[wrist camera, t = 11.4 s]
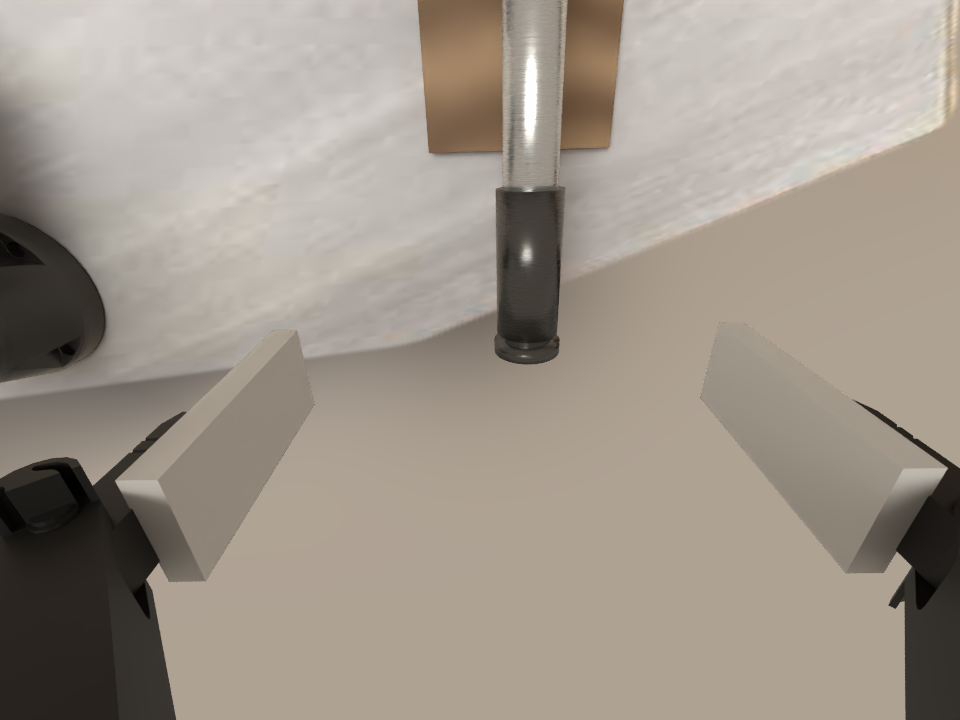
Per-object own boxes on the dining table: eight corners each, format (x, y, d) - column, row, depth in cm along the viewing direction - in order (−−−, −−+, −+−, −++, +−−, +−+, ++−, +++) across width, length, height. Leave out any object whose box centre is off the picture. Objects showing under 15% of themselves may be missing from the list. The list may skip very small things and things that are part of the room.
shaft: (554, 335, 32) (563, 363, 28) (494, 336, 32) (495, 364, 28) (585, -243, 19) (611, -340, 15) (485, -238, 19) (485, -332, 15)
